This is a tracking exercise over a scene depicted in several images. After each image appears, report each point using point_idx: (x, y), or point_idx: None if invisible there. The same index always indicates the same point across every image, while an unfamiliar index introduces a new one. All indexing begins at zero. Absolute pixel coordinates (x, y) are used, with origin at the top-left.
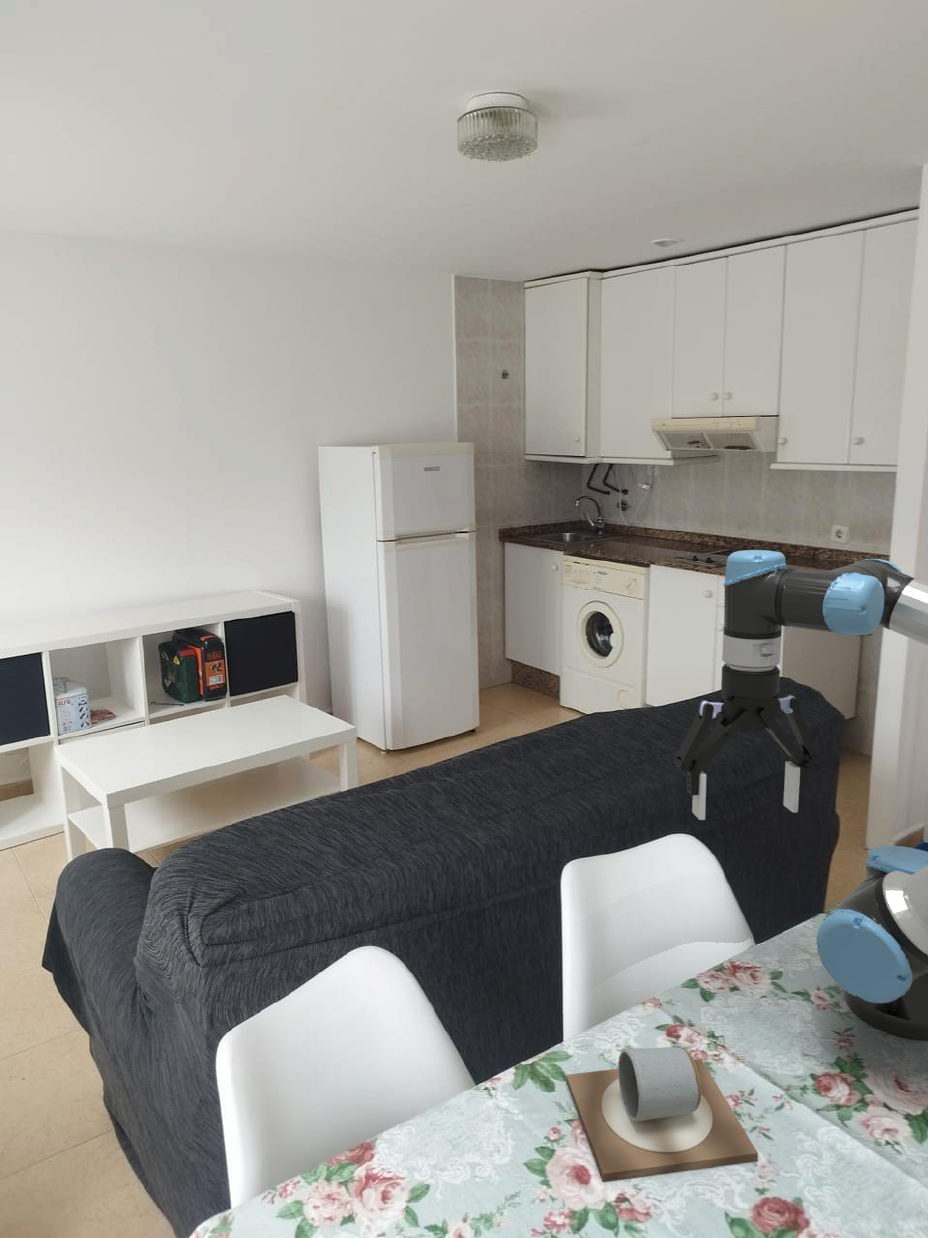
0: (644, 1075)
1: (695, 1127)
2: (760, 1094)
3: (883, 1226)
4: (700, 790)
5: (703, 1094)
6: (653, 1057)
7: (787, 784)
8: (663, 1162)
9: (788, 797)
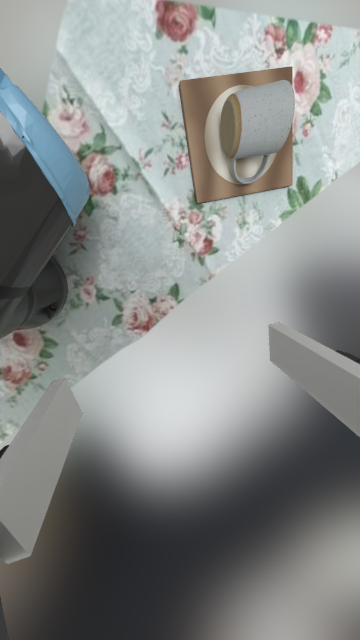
0: (284, 83)
1: (220, 112)
2: (159, 168)
3: None
4: (336, 354)
5: (205, 158)
6: (274, 102)
7: (55, 453)
8: (250, 75)
9: (64, 417)
